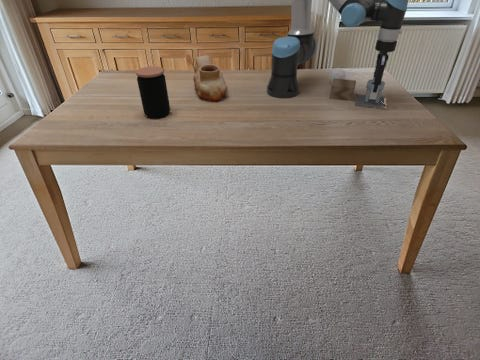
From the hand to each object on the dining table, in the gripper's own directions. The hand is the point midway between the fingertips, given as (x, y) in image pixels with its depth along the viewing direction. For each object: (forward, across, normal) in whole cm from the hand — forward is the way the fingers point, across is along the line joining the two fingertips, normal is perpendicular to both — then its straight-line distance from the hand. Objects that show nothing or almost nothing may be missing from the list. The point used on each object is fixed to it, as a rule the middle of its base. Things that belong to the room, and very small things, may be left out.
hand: (372, 95), depth 134 cm
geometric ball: (+3, +19, +17) cm, 26 cm away
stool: (+2, 0, 0) cm, 2 cm away
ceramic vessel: (+3, -12, +73) cm, 74 cm away
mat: (+3, 0, 0) cm, 3 cm away
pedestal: (+3, +3, +13) cm, 14 cm away
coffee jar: (+3, -41, +84) cm, 94 cm away
